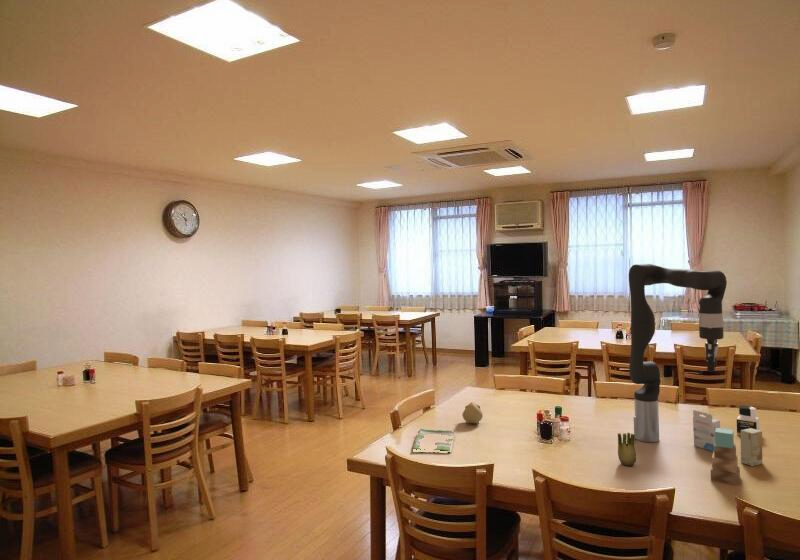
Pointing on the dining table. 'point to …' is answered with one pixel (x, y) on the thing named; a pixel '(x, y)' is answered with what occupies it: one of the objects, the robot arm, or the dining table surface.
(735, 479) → the tower base
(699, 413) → the ink box
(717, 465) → the tower mid
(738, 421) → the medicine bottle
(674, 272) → the robot arm
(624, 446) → the fennel bulb
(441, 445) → the green white rectangular tray
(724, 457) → the tower top
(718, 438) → the cube
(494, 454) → the dining table surface
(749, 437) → the skincare box
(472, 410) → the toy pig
